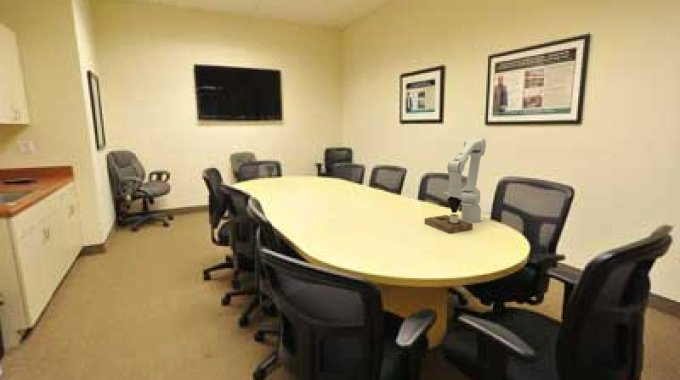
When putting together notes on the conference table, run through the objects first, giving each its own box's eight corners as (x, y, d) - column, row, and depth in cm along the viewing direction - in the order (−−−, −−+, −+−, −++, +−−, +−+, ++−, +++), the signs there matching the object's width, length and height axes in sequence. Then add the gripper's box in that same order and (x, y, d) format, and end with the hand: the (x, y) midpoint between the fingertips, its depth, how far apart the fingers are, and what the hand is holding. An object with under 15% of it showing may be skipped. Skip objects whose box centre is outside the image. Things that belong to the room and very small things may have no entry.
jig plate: (446, 220, 203) (446, 214, 203) (472, 229, 185) (472, 223, 185) (424, 223, 198) (424, 218, 197) (449, 233, 180) (449, 227, 179)
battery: (454, 227, 190) (454, 213, 189) (459, 229, 186) (460, 215, 185) (447, 228, 188) (448, 214, 187) (453, 230, 185) (453, 216, 183)
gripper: (439, 183, 188) (438, 210, 191) (458, 188, 175) (457, 216, 178) (450, 182, 191) (449, 208, 194) (470, 186, 178) (469, 214, 180)
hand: (454, 212), depth 186 cm, fingers closed
